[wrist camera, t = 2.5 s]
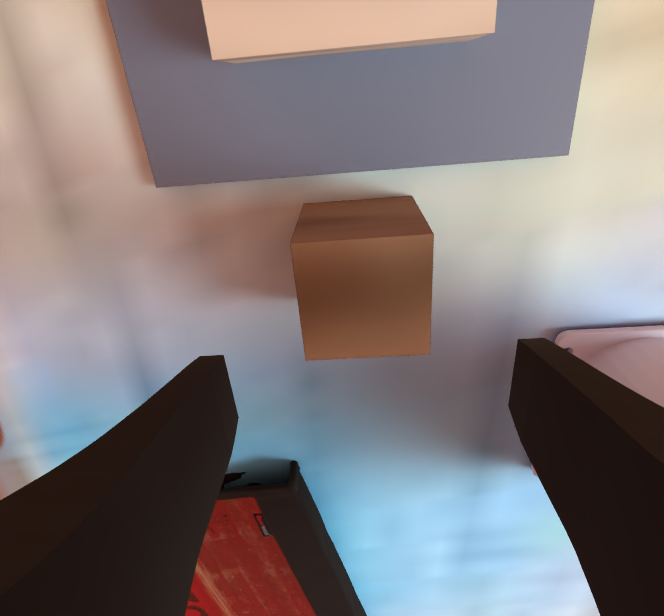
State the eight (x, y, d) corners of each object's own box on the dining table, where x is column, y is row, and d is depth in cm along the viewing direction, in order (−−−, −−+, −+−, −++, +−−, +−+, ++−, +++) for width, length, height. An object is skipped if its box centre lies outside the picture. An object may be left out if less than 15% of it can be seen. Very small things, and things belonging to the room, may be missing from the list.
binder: (292, 486, 23) (381, 668, 33) (298, 452, 25) (380, 633, 35) (48, 521, 26) (193, 678, 36) (71, 489, 28) (202, 645, 38)
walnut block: (411, 293, 20) (429, 354, 15) (314, 298, 20) (305, 360, 16) (411, 195, 18) (433, 233, 13) (303, 203, 18) (290, 243, 14)
